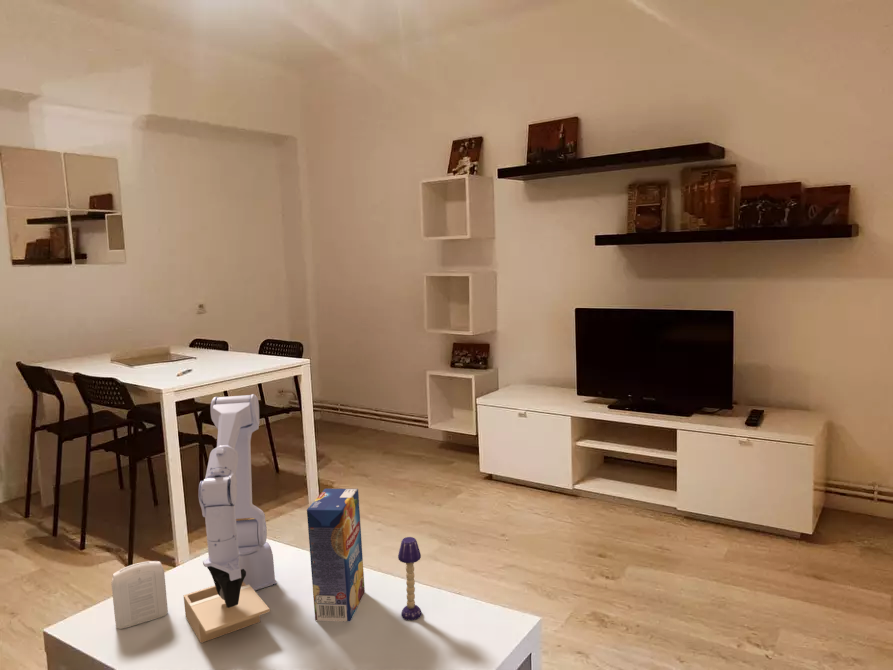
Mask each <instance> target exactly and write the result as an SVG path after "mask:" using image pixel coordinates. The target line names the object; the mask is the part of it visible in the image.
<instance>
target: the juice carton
mask: <svg viewBox="0 0 893 670" xmlns="http://www.w3.org/2000/svg"><path fill="white" fill-rule="evenodd" d="M359 496H360V495H359V488H324V489H323V490H322V491H321V492H320V494H319V495H318V496H317V497H316V498H315V500H314V501H313V502H312V503H311V505H310V506H308V508H307V509H306V515H307V516H306V517H307V529H308V530H307V531H308V542H309V543H308V545H309V555H310V569H311V570H310V571H311V584H312V594H313V608H314V620H315V621H316V620H317V621H320V622H323V621H324V622H343V621H344V622H345V623H346V621H347V622H349V623H350V622H351V621H352V619H353V617H354V615H355V613H356V612H357V609H358V607H359V605H360V603H361V601H362V599H363V597H364V594H365V593H366V589H365V574H364V559H363V557H364V556H363V543H362V528H361V513H360V511H361V510H360V498H359Z"/></svg>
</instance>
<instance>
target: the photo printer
mask: <svg viewBox="0 0 893 670" xmlns="http://www.w3.org/2000/svg"><path fill="white" fill-rule="evenodd" d="M111 591H112V601H113V611H114V620H115V621H114V622H115V628H116V629H119V630H121V629H126V628H130V627H133V626H136V625H139V624H140V625H141V624H143V623H147V622H150V621H151V620H152V621H153V620H157V619H159V618H162V617H165V616H167V614H168V613H169V609H168V608H169V607H168V599H167V587H166V575H165V570H164V567H163V565H162V562H161V561H158V560H148V561H147V560H146V561H140V562H138V563H137V562H136V563H134V564H130V565H127V566H125V567H122V568H120V569H119V570H117V571H115V572H114V573H113V574H112V579H111Z"/></svg>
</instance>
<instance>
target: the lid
mask: <svg viewBox="0 0 893 670" xmlns="http://www.w3.org/2000/svg"><path fill="white" fill-rule="evenodd" d="M189 607H190V608H191V610H192V612H193V613H194V615H195V617H196V618H197V620H198V622H199V623H200V625H201V626H202V628H203V630H204V631H205V633H206V634H208V633H211V632H213V631H216V630H219V629H222V628H225V627H228V626H230V625H233V624H236V623H239V622H242V621H245V620H247V619H250V618H253V617H256V616H259V615H260V616H261V615H262V616H263V615H265V614H267V613H270V610H271V609H270V607H268V605H267V604H266V603H265V601H264V600H263V599H262V598H261V597H260V595H258V593H257V591H256V590H255V591H254V590H253V588H252V587H251V586H250V585H246V586H242V587H241V590H240V596H239V602H238V605H235V606H233V607H230V608H228V607H227V606H226V603H225V600H224V596H223V592H222V589H221V590H220V596H219V595H215V596H212V597H208V598H205V599H202V600H199V601H196V602H193V603H190V604H189Z"/></svg>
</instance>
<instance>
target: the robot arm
mask: <svg viewBox="0 0 893 670" xmlns="http://www.w3.org/2000/svg"><path fill="white" fill-rule="evenodd" d="M210 419H211V421H212V422H213V424H214V426H215V427H216V429H217V437H216V438H217V440H216V447H215V448H213V449H212V450H211V451H210V453H209V457H208V462H207V468H206V472H205V478H204V479H203V480H200V482H199V484H198V502H199V506H200V508H201V514H202V517H203V518H204V519H205V522H204V523H205V531H206V542H207V543H206V544H207V551H208V552H207V553H208V558H207V559H204V560H202V566H203V567H205V568H207V570H209V571H208V572H209V573H210V575H211V577H212V580H213V583H214V586H215V587H216V590H217V593H218V595H219V596H220V590H221V589H222V592H223V596H224V600H225V603H226V606H227V607H228V608H230V607H233V606H235V605H238V602H239V596H240V590H241V586H242V583H243V582H244V583H245V584H246V585H250V586H251V587H252V588H253V590H254V591H255V592H256V591H258V590H261V589H263V588H264V589H265V588H267V587H270V586H273V584H274V585H276V584H277V581H276V578H275V577H276V576H275V564H274V561H275V560H274V554H273V551H272V547H271V545H270V542H268V541H267V538H268V537H267V536H268V533H267V531H268V530H267V529H268V528H267V522H266V514H265V512H264V511H263V509H261V508H259V507H258V506H257V505H254V504H253V492H252V491H253V486H252V484H253V482H252V481H253V480H252V455H251V454H252V453H251V451H252V450H251V449H252V448H251V441H252V436H253V435H252V434H253V433H254V432H255V431H257V430H259V428H260V427H259V426H260V404H259V398H258V396H257V395H256V394H255V393H252V394H247V395H246V394H245V395H233V396H232V395H231V396H230V395H229V396H214V397H213V398H212V399H211V402H210Z"/></svg>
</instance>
